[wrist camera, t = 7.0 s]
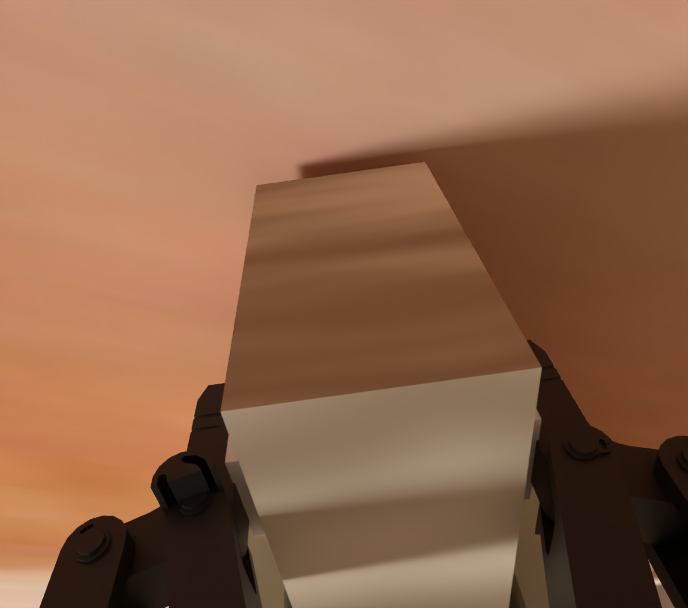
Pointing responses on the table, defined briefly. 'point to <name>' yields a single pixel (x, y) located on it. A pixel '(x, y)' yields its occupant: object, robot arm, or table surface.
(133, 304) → the table surface
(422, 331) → the peg
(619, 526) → the robot arm
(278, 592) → the block
